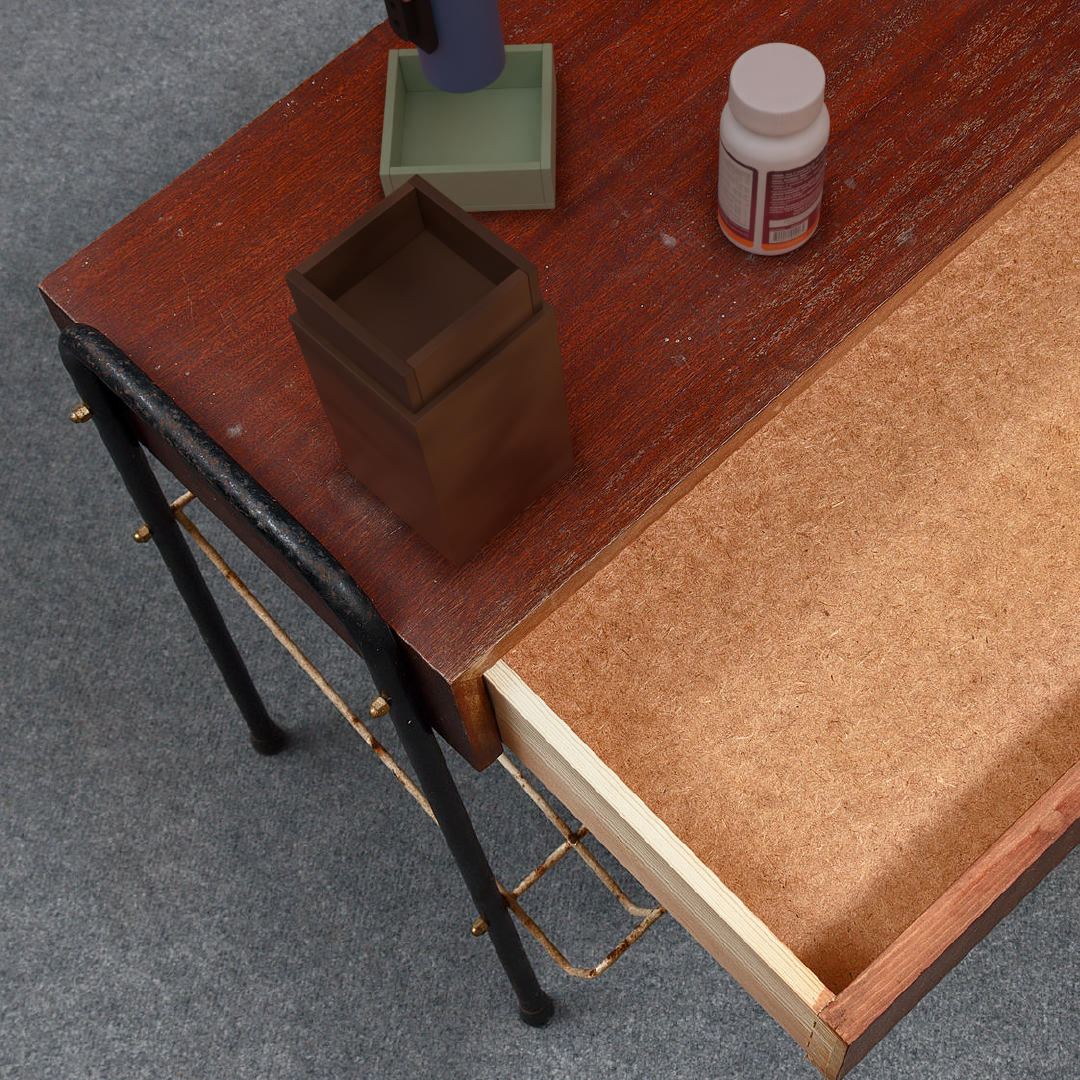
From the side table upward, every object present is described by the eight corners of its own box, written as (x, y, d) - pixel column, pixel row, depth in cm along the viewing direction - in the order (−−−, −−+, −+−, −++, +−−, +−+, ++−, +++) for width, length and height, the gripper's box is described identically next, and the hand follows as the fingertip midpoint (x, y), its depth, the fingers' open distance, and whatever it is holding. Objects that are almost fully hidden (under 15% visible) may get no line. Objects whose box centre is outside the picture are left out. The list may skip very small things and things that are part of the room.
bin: (389, 214, 89) (379, 174, 86) (398, 91, 94) (389, 49, 91) (555, 209, 89) (550, 168, 86) (556, 85, 94) (552, 42, 90)
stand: (457, 569, 78) (402, 387, 63) (348, 471, 81) (271, 275, 66) (575, 465, 81) (550, 266, 66) (465, 374, 84) (417, 163, 69)
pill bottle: (830, 193, 89) (849, 47, 79) (802, 270, 86) (819, 129, 76) (733, 171, 90) (740, 24, 80) (703, 246, 87) (706, 104, 77)
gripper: (474, -430, 69) (516, -97, 86) (196, -254, 65) (296, 63, 81) (586, -368, 67) (607, -37, 83) (304, -180, 62) (385, 131, 78)
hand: (453, 9), depth 82 cm, fingers closed on vial, 5 cm apart
